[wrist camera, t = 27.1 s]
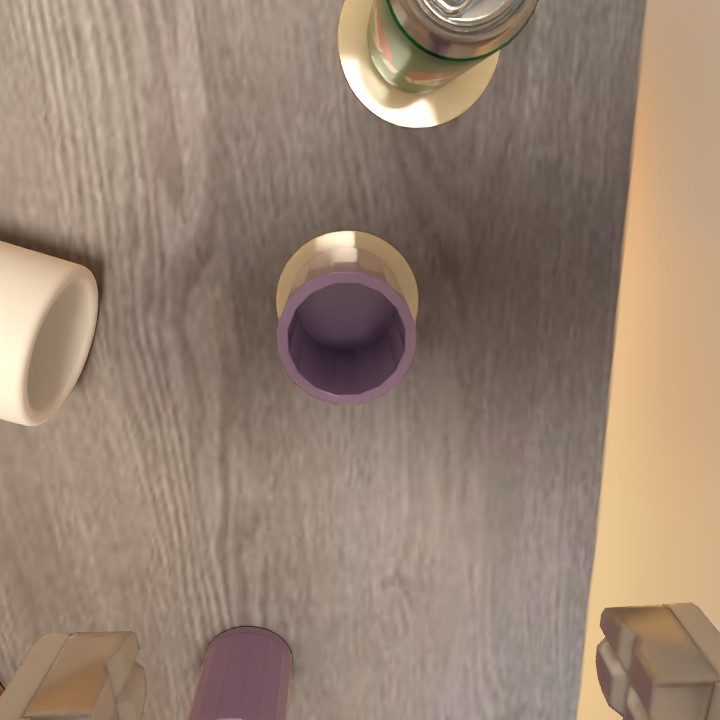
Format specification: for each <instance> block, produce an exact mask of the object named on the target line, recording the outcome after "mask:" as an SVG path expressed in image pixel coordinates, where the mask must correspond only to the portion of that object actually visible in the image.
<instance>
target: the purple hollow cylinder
mask: <svg viewBox="0 0 720 720" xmlns="http://www.w3.org/2000/svg"><path fill="white" fill-rule="evenodd" d="M291 680H292V654H291V652H290V649H289V647H288V646H287V644H286V643H285V642H284V641H283V640H282V639H281V638H280V637H279V636H277V635H276V634H274V633H272V632H270V631H268V630H265V629H262V628H257V627H238V628H233V629H230V630H227V631H225V632H223V633H222V634H220V635H218V636H217V637H216V638H215V639H214V640H213V641H212V642H211V643H210V645H209V646H208V648H207V651H206V654H205V658H204V661H203V663H202V667H201V671H200V674H199V678H198V682H197V686H196V689H195V693H194V697H193V700H192V704H191V708H190V712H189V715H188V719H187V720H288V713H289V702H290V691H291Z"/></svg>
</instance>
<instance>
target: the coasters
mask: <svg viewBox="0 0 720 720" xmlns="http://www.w3.org/2000/svg"><path fill="white" fill-rule="evenodd" d="M372 2H373V0H345V1H344V4H343V7H342V10H341V14H340V19H339V26H338V51H339V57H340V62H341V67H342V69H343V72H344V75H345V78H346V80H347V82H348V84H349V86H350V88H351V90H352V91H353V93H354V94H355V96H356V97H357V98H358V100H359V101H360V102H361V103H362V104H363V105H364V106H365V107H366V108H367V109H368V110H369V111H370V112H371V113H373V114H374V115H376V116H377V117H379V118H380V119H382V120H384V121H386V122H388V123H391V124H394V125H397V126H400V127H406V128H429V127H433V126H437V125H441V124H443V123H446V122H448V121H450V120H452V119H454V118H456V117H457V116H459V115H461V114H462V113H463V112H465V111H466V110H467V109H468V108H469V107H470V106H471V105H473V104H474V103H475V102H476V100H477V99H478V98H479V97H480V96H481V94H482V93H483V92H484V90H485V88H486V87H487V85H488V84H489V82H490V80H491V78H492V76H493V73H494V71H495V68H496V65H497V62H498V58H499V54H500V50H499V51H497V52H496V53H494V54H493V55H491V56H490V57H488V58H487V59H485V60H483V61H482V62H480V63H479V64H477V65H476V66H474V67H473V68H471V69H470V70H468V71H467V72H465V73H463V74H462V75H460V76H459V77H457V78H456V79H454V80H453V81H451V82H450V83H448V84H447V85H445V86H443V87H442V88H439V89H437V90H435V91H432V92H428V93H420V94H418V93H409V92H405V91H402V90H400V89H398V88H396V87H394V86H393V85H391V84H389V83H388V82H387V81H386V80H385V79H384V78H383V77H382V76H381V75H380V73H379V72H378V71H377V69H376V67H375V65H374V64H373V62H372V59H371V56H370V53H369V49H368V43H367V26H368V21H369V16H370V12H371V7H372ZM340 247H350V248H357V249H361V250H364V251H367V252H369V253H371V254H373V255H375V256H376V257H378V258H379V259H380V260H381V261H383V262H384V263H385V264H386V265H387V267H388V268H389V269H390V270H391V271H392V272H393V274H394V276H395V278H396V280H397V282H398V284H399V287H400V289H401V291H402V293H403V295H404V298H405V300H406V302H407V305H408V307H409V309H410V312H411V314H412V317H413V319H414V322H415V320H416V316H417V312H418V301H419V299H418V289H417V284H416V280H415V277H414V275H413V272H412V270H411V268H410V266H409V265H408V263H407V262H406V260H405V259H404V257H403V256H402V255H401V254H400V253H399V252H398V251H397V250H396V249H395V248H394V247H393V246H392V245H390V244H389V243H387V242H386V241H384V240H383V239H381V238H379V237H377V236H374V235H372V234H369V233H365V232H361V231H355V230H341V231H334V232H329V233H325V234H323V235H320V236H318V237H316V238H314V239H312V240H310V241H308V242H307V243H306V244H304V245H303V246H302V247H300V248H299V249H298V250H297V251H296V252H295V253H294V254H293V256H292V257H291V258H290V259H289V261H288V262H287V264H286V266H285V267H284V269H283V271H282V274H281V276H280V278H279V282H278V286H277V293H276V308H277V315H278V318H279V320H280V317H281V314H282V311H283V309H284V306H285V303H286V300H287V298H288V295H289V292H290V290H291V287H292V284H293V282H294V279H295V276H296V275H297V273H298V272H299V271H300V269H301V268H302V267H303V266H304V264H306V263H307V262H308V261H309V260H310V259H311V258H313V257H314V256H316V255H317V254H319V253H321V252H324V251H326V250H329V249H334V248H340Z"/></svg>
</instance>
